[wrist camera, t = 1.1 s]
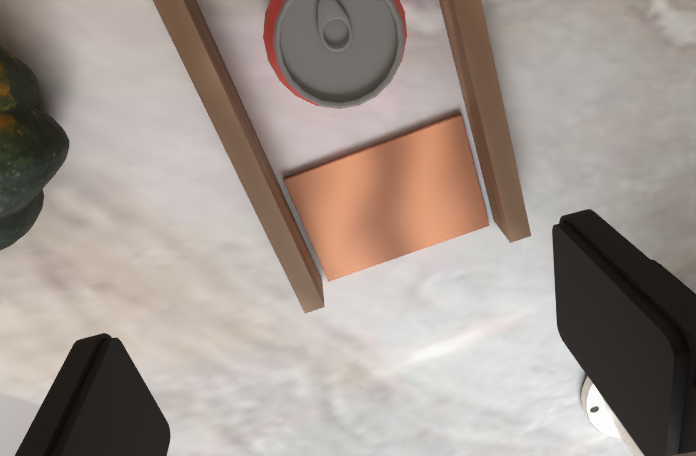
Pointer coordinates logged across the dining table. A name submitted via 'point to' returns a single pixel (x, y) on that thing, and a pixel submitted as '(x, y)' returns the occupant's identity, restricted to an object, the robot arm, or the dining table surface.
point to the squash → (24, 149)
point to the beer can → (335, 48)
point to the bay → (369, 165)
